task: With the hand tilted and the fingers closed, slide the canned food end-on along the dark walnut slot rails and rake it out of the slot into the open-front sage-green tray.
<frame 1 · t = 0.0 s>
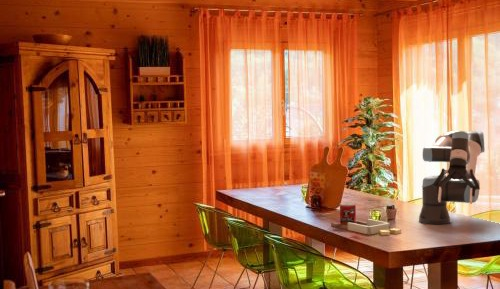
hand: (454, 201, 273), 15 cm above the table, tool tilted 35°, fingers open, 13 cm apart
chip b: (395, 233, 281), on the table
chip a: (384, 235, 279), on the table
slot rails: (349, 225, 300), on the table
canned food: (347, 225, 301), resting in slot rails
tray: (368, 229, 289), on the table
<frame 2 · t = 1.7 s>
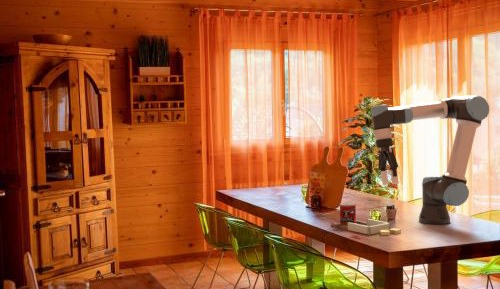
hand: (390, 184, 277), 23 cm above the table, tool pointing down, fingers open, 13 cm apart
nothing on the table moved.
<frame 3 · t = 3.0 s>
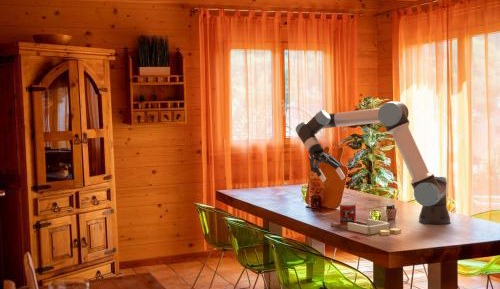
hand: (334, 179, 306), 22 cm above the table, tool tilted 45°, fingers open, 13 cm apart
nothing on the table moved.
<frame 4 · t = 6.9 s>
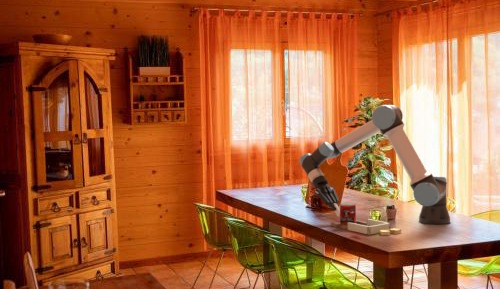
hand: (340, 215, 304), 5 cm above the table, tool tilted 45°, fingers closed
canned food: (347, 225, 301), resting in slot rails, touching gripper
everything else where it was.
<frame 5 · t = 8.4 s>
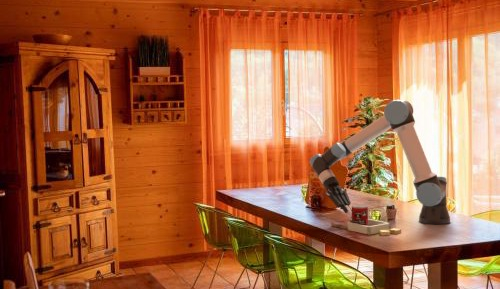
hand: (351, 217, 297), 5 cm above the table, tool tilted 45°, fingers closed
canned food: (359, 228, 293), resting in tray, touching gripper
everything else where it was.
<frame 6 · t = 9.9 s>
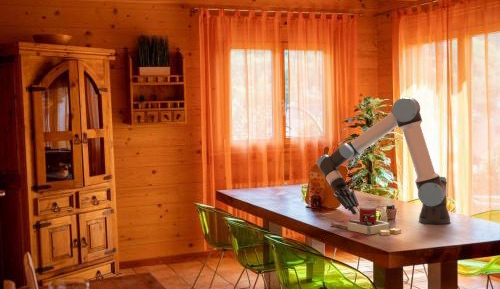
hand: (360, 218, 293), 5 cm above the table, tool tilted 45°, fingers closed
canned food: (368, 230, 289), resting in tray, touching gripper
everything else where it was.
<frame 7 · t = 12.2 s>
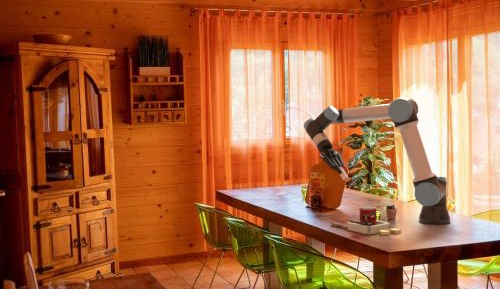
hand: (345, 178, 300), 24 cm above the table, tool tilted 45°, fingers closed
canned food: (368, 230, 289), resting in tray
everything else where it was.
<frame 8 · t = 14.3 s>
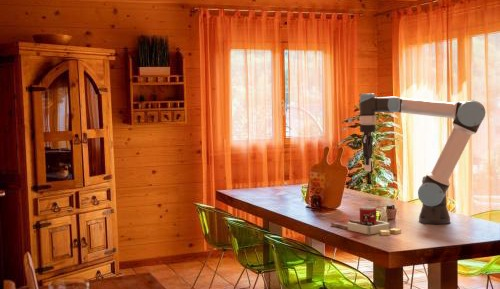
hand: (367, 171, 304), 26 cm above the table, tool pointing down, fingers closed
nothing on the table moved.
at the end: canned food 0.3 cm from the tray (horizontally); canned food tilted 0°; canned food moved 13.7 cm from its start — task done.
